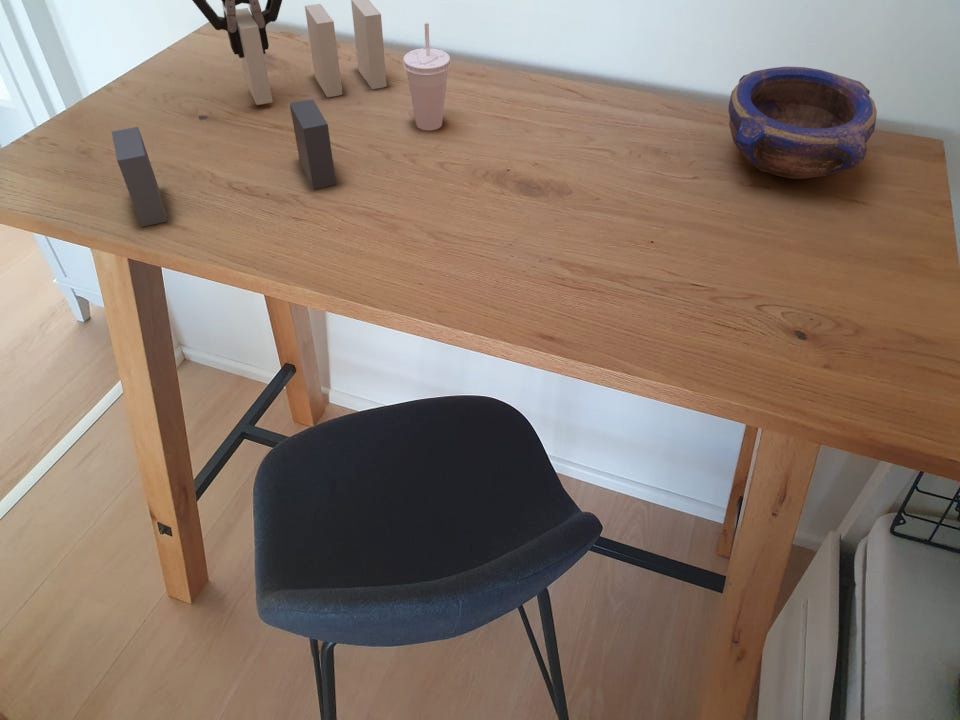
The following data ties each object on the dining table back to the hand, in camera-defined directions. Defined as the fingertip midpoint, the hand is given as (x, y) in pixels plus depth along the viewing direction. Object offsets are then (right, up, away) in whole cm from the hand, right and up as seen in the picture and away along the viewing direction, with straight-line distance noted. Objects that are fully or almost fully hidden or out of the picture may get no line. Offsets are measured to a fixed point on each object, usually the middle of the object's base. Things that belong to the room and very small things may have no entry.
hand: (251, 53), depth 110 cm
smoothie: (+26, -10, 0) cm, 28 cm away
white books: (+13, -1, +9) cm, 16 cm away
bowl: (+74, -18, -6) cm, 76 cm away
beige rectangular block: (0, -4, +4) cm, 6 cm away
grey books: (+2, -22, -12) cm, 26 cm away
